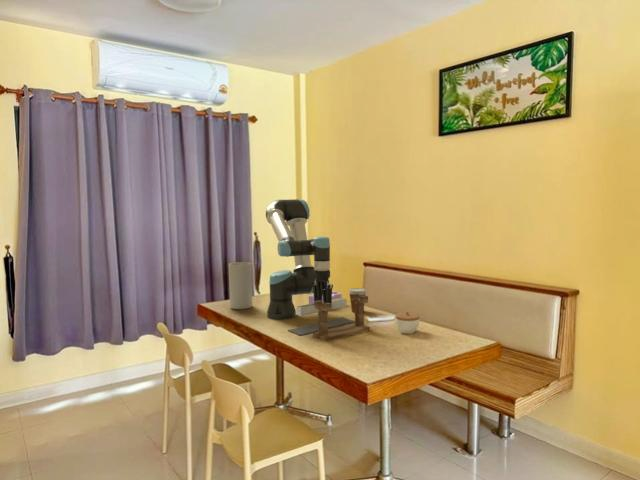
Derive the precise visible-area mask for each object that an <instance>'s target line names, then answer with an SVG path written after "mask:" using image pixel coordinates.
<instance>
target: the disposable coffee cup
mask: <svg viewBox="0 0 640 480" xmlns="http://www.w3.org/2000/svg"><path fill="white" fill-rule="evenodd" d="M355 293H356V294H359V298H360V296H366V294H367V291H366V289H365V288H362V287H361V288H359V287H358V288H357V287H353V288H349V291H348V295H349V301H350V307H351V312H352V313H354V314H355V301H351V294H355Z"/></svg>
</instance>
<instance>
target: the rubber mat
mask: <svg viewBox="0 0 640 480" xmlns="http://www.w3.org/2000/svg"><path fill="white" fill-rule="evenodd" d="M351 323H355V320H353V319H351V318H347V317H343V316H342V317H339V318H332V319H328V329H331V328H335V327H339V326H343V325H347V324H351ZM287 331H288V332H290V333H292V334H294V335H297V336H305V335H310V334H313V333H314V332H318V322H317V323H312V324H308V325H304V326H298V327H294V328H291V329H290V328H289V329H287Z"/></svg>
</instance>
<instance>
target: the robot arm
mask: <svg viewBox="0 0 640 480" xmlns="http://www.w3.org/2000/svg"><path fill="white" fill-rule="evenodd" d="M265 219H266V221H267V222H268V223H269V224H270V225H271V227H272V230H273V232H274V234H275V235H276V239H277V240H278V243H277V248H276V249H277V253H278V254H277V255H278V256H279V257H287V258H288V257H293V258H294V264H295V265H294V266H295V267H294V269H293V272H292V270H290V269H286V270H279V271H275V272H272V273H271V274H270V275H269V304H268V308H267V311H266V317H267V318H269V319H275V320H286V319H292V318H294V317H296V315H297V309H296V308H295V305H294V302H293V296H298V295H310V294H314V301H318V300H320V301H322V295H323V304H325V303H331V304H332V292H333V288H334V284H332V283H330V280H329V279H330V278H331V270H330V269H331V253H330V252H331V242H330V241H331V240H330V237H328V236H316V237H314V238H310V239H308V235H307V229H306V228H307V227H306V224H307V222H308V220H309V219H310V207H309V204H308V202H307V201H306V200H305V199H299V198H296V199H293V198H292V199H276V200H274V201H272V202H270V204H268V206H267V208H266V210H265ZM311 256H313V262H314V265H312V262H311Z"/></svg>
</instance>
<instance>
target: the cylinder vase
mask: <svg viewBox="0 0 640 480" xmlns="http://www.w3.org/2000/svg"><path fill="white" fill-rule="evenodd" d="M252 277H253V276H252V263H251V262H247V261H239V262H238V261H236V262H230V263H228V280H229V281H228V283H229V285H228V286H229V307H230V308H231V309H232V310H246V309H249V308H252V307H253V287H252V285H253V284H252V282H253V281H252Z"/></svg>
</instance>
